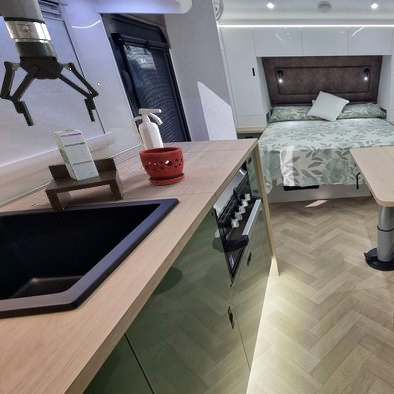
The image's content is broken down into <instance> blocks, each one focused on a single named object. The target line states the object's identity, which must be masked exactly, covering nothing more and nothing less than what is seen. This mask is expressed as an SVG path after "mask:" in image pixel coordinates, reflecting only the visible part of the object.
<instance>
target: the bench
mask: <svg viewBox="0 0 394 394" xmlns="http://www.w3.org/2000/svg"><path fill="white" fill-rule="evenodd" d="M93 161H94V164H95V166H96V169H97V172H98V174H99V176H96V177H92V178H88V179H83V180H75V179H73V178H71V177H70V174H69V172H68V170H67V167H66V165H65V163H58V164H51V165H48V166H47V168H48V170H49V172H50V174H51V177H52V179H51V181H50V183H49V184H48V185H47V186H46V188H45V189H44V193H45V195H46V197H47V199H48V201H49V203H50V206H51V208H52V211H53V212H54V213H55V214H56V213H60V212H63V211H62V210H63V208H64V207H65V206H66V207H67V205H68V203H69V201H70V199H71V193H70V192H75V191H79V190H80V191H81V190H85V189H86V190H87V189H93V188H99V187H103V186H109V189H110V192H111V194H112V197H113V200H114V202H119V201H123V200H124V186H123V183H122V180H121V177H120V174H119V171H118V168H117V165H116V162H115V159H114V157H105V158H97V159H93ZM66 207H65V208H66Z"/></svg>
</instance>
